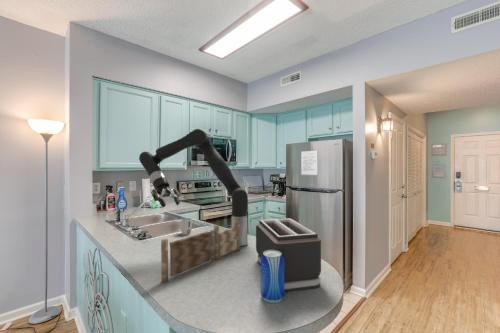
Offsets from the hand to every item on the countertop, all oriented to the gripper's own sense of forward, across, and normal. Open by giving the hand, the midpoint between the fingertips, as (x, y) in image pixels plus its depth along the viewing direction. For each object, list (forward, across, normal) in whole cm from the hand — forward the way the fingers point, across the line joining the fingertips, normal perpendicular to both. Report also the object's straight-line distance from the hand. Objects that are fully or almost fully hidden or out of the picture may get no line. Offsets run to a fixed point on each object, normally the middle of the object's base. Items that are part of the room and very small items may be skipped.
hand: (171, 205), depth 121 cm
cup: (0, +31, +39) cm, 50 cm away
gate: (+32, -1, +4) cm, 32 cm away
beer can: (+62, +1, -24) cm, 66 cm away
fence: (+33, +6, +5) cm, 34 cm away
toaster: (+56, +23, -19) cm, 64 cm away
